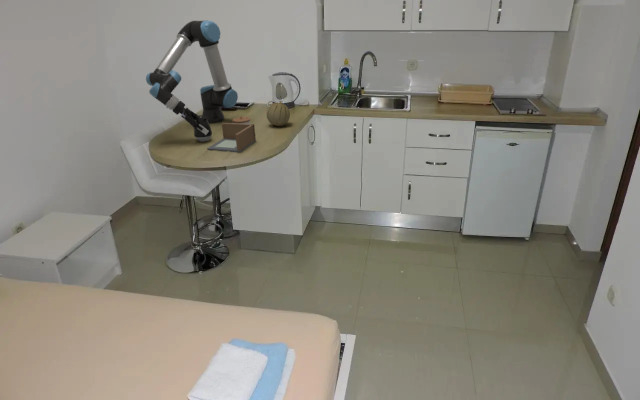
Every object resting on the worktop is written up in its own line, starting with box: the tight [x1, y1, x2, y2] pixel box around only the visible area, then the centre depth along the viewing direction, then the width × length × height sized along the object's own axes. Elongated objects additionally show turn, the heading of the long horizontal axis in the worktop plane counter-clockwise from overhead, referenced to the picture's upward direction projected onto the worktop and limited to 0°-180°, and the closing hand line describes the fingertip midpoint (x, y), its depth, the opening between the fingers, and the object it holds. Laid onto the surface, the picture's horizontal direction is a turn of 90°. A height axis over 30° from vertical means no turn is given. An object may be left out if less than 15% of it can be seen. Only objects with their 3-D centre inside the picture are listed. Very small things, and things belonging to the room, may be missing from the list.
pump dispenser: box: [193, 114, 213, 143], centre depth 260 cm, size 10×10×15 cm
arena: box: [206, 122, 257, 153], centre depth 251 cm, size 20×20×10 cm
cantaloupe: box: [266, 101, 291, 127], centre depth 283 cm, size 15×15×15 cm
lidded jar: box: [232, 115, 251, 124], centre depth 276 cm, size 11×11×9 cm
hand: (208, 130), depth 261 cm, fingers closed on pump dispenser, 9 cm apart
